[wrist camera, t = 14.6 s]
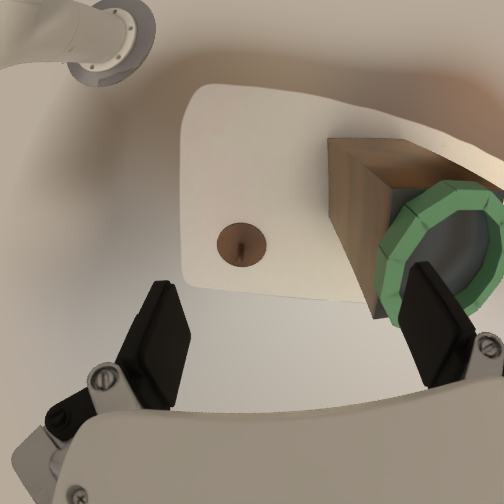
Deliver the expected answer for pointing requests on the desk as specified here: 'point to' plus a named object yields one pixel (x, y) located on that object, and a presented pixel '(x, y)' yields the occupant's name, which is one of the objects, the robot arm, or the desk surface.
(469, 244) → the plinth
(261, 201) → the desk surface
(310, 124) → the desk surface
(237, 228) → the peg stand
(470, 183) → the ring
